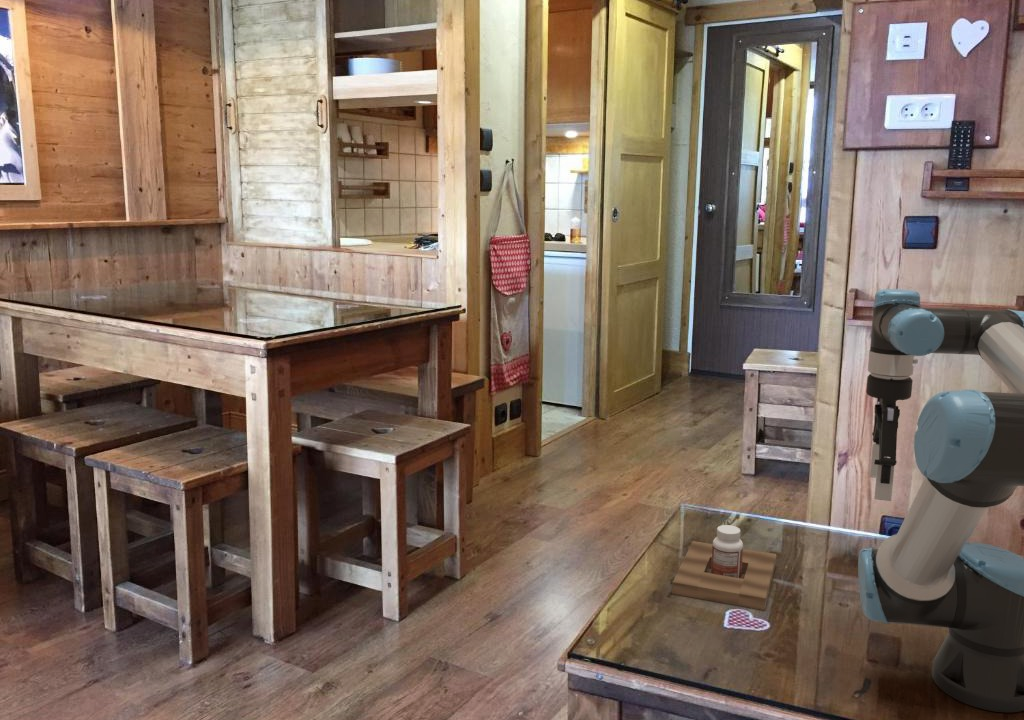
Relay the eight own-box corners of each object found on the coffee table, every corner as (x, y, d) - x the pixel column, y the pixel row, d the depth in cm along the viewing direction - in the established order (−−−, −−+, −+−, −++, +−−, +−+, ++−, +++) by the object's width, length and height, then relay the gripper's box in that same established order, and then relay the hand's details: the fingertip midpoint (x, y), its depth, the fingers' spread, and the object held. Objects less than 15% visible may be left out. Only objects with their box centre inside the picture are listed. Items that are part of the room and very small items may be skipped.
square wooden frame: (764, 610, 169) (765, 598, 168) (672, 593, 175) (672, 582, 175) (775, 564, 189) (776, 554, 188) (692, 551, 195) (692, 541, 195)
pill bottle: (723, 570, 186) (726, 520, 184) (747, 580, 182) (750, 530, 179) (704, 578, 182) (707, 528, 180) (728, 588, 178) (731, 537, 176)
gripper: (920, 390, 145) (908, 512, 149) (906, 365, 168) (896, 471, 172) (872, 387, 147) (861, 507, 151) (864, 362, 170) (855, 467, 174)
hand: (879, 488), depth 161 cm, fingers open, 13 cm apart
